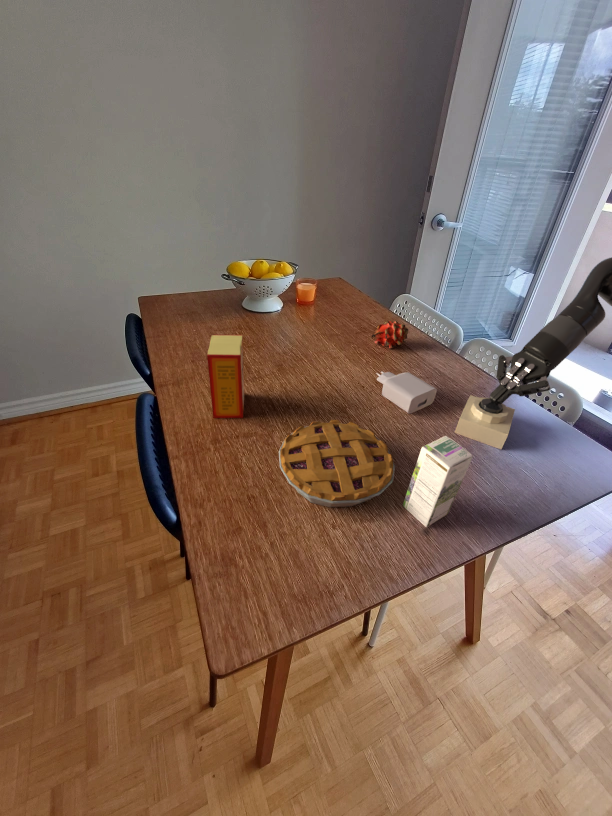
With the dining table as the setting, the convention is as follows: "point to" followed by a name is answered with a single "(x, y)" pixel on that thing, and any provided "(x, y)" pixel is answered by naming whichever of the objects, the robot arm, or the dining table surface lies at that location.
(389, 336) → the dragon fruit
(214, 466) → the dining table surface
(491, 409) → the lid button
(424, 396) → the charger
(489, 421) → the beige faceted block
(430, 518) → the syrup box
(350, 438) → the pie
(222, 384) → the baking soda box
